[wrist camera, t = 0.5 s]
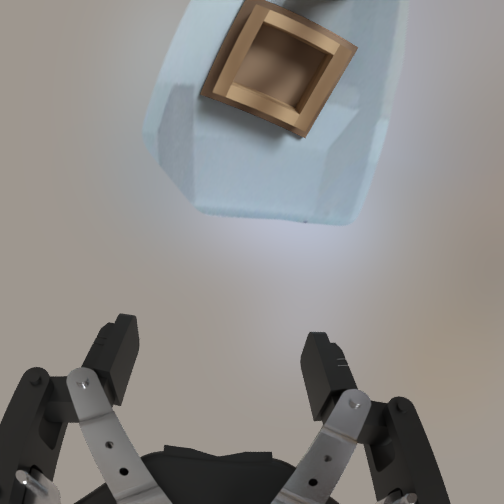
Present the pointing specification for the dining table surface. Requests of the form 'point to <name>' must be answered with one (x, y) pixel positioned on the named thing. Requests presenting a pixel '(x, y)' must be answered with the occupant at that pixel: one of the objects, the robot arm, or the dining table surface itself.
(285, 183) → the dining table surface
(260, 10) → the shaker caddy
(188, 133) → the dining table surface
